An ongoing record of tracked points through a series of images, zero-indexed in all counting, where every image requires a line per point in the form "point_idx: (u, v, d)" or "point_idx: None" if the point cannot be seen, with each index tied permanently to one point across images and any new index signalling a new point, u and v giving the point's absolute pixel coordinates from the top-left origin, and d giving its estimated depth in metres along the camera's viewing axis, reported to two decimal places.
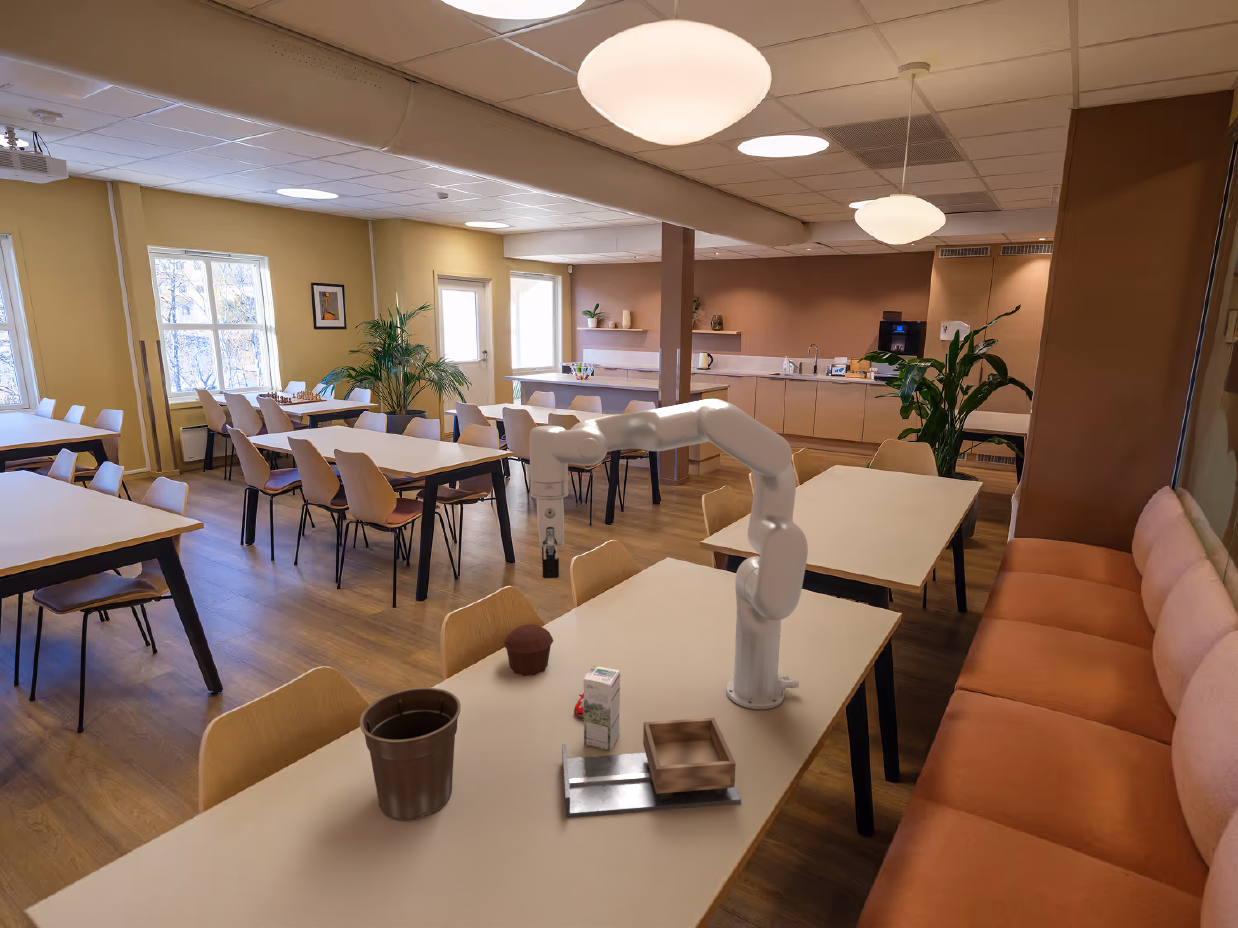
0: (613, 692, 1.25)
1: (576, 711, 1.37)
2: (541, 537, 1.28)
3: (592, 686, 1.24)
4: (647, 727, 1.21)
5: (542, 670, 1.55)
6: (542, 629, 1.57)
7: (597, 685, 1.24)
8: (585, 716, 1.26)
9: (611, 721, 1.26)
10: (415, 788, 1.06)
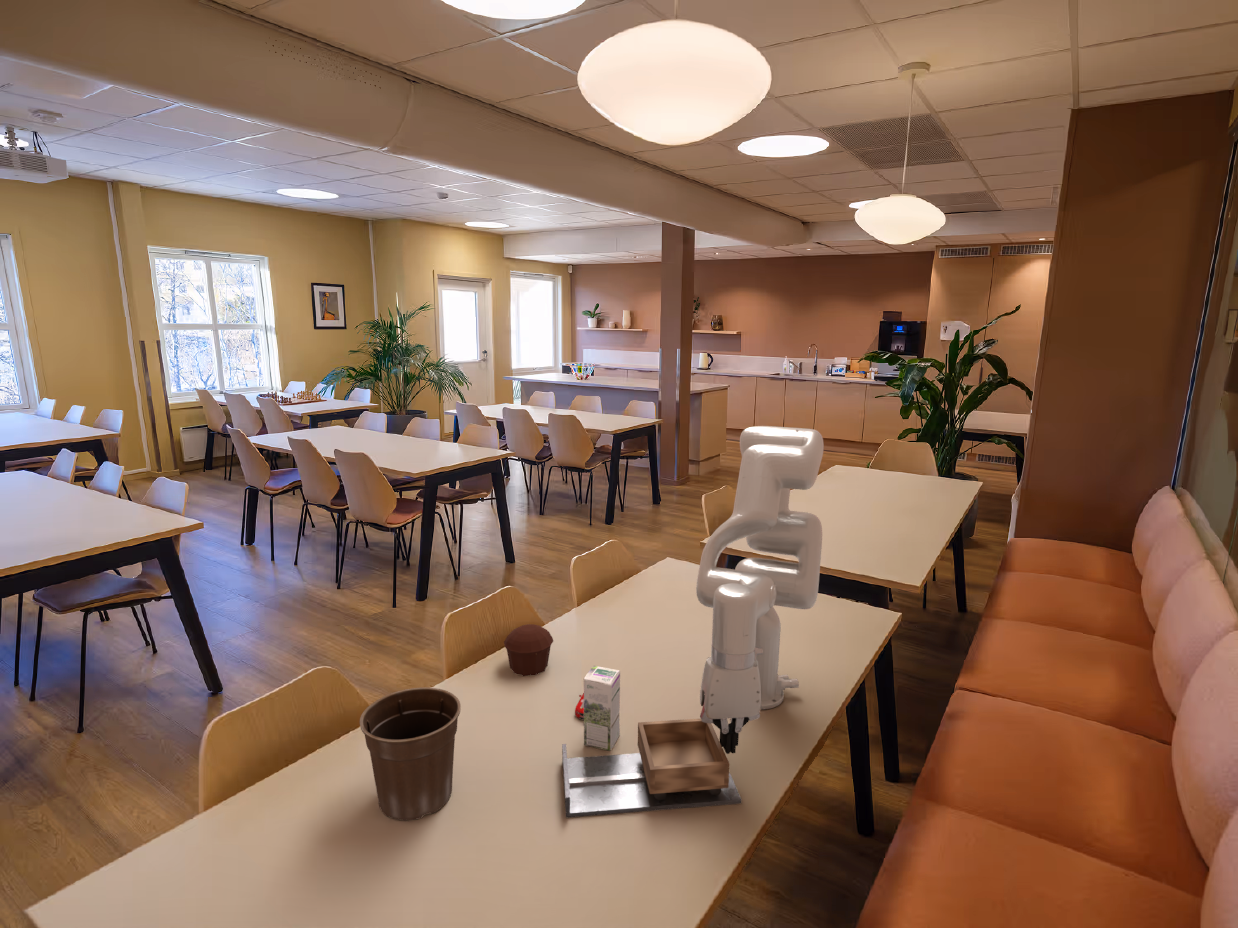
0: (613, 692, 1.25)
1: (577, 712, 1.37)
2: (760, 703, 1.15)
3: (592, 686, 1.24)
4: (641, 727, 1.21)
5: (542, 670, 1.55)
6: (542, 629, 1.57)
7: (597, 685, 1.24)
8: (585, 716, 1.26)
9: (611, 721, 1.26)
10: (415, 788, 1.06)
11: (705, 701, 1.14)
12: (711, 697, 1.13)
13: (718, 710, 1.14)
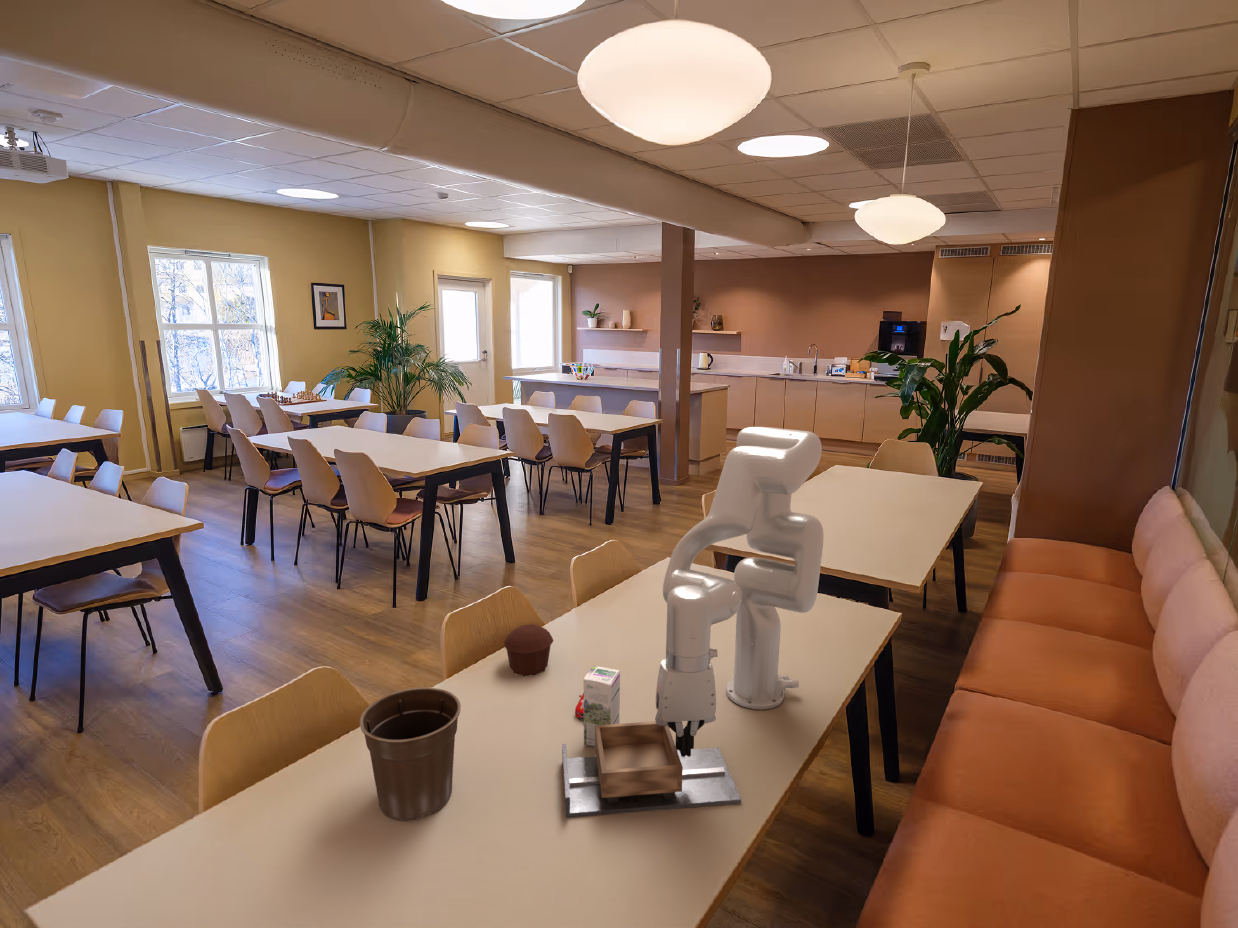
0: (613, 692, 1.25)
1: (577, 712, 1.37)
2: (715, 706, 1.14)
3: (592, 686, 1.24)
4: (598, 730, 1.20)
5: (542, 670, 1.55)
6: (542, 629, 1.57)
7: (597, 685, 1.24)
8: (585, 716, 1.26)
9: (611, 722, 1.25)
10: (415, 788, 1.06)
11: (659, 704, 1.13)
12: (665, 700, 1.12)
13: (672, 713, 1.13)
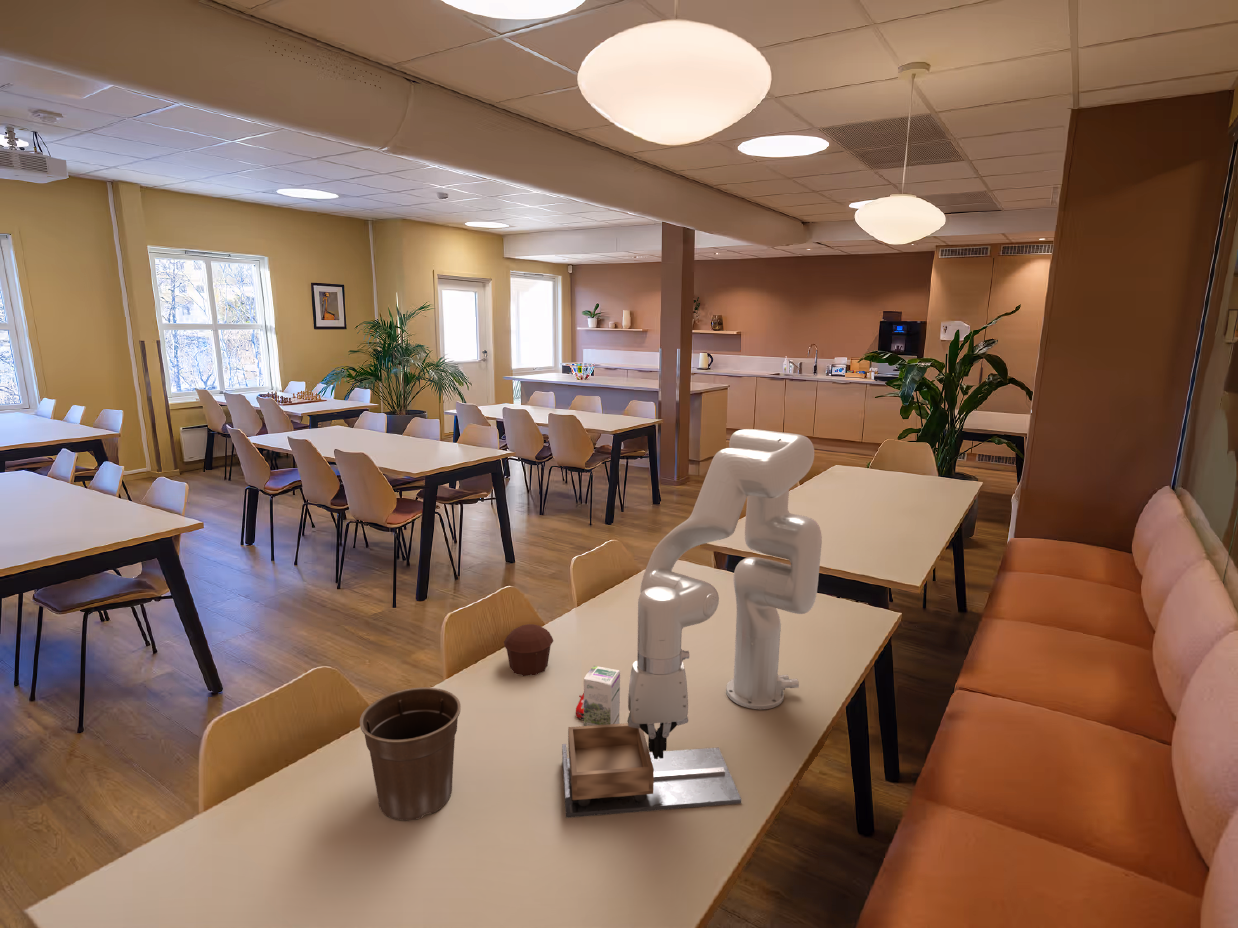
0: (613, 692, 1.25)
1: (578, 712, 1.36)
2: (687, 708, 1.14)
3: (592, 686, 1.24)
4: (571, 732, 1.19)
5: (542, 670, 1.55)
6: (542, 629, 1.57)
7: (597, 685, 1.24)
8: (585, 716, 1.26)
9: (611, 721, 1.26)
10: (415, 788, 1.06)
11: (631, 706, 1.13)
12: (636, 702, 1.12)
13: (644, 715, 1.12)
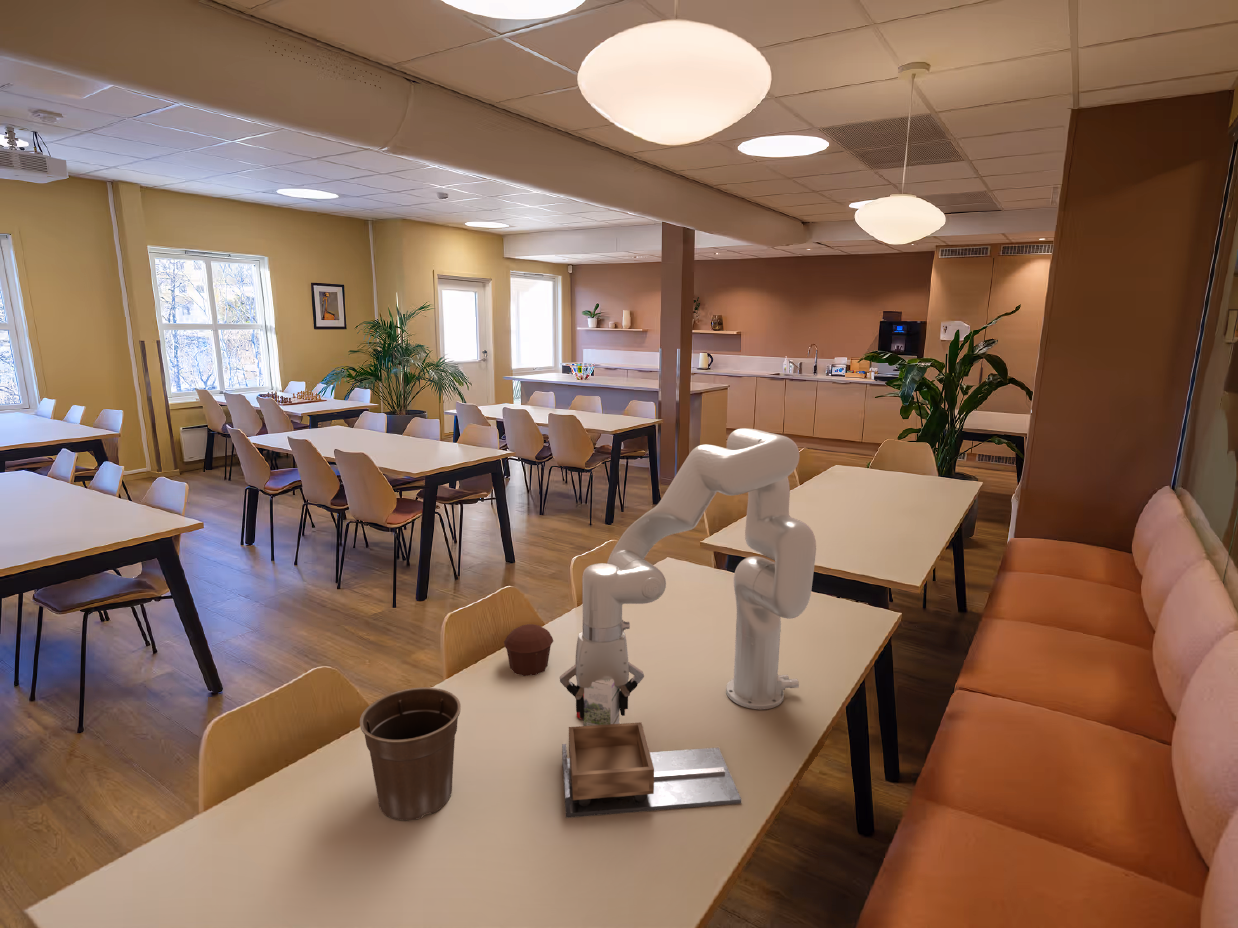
0: (613, 692, 1.25)
1: (579, 713, 1.36)
2: (628, 674, 1.25)
3: (592, 686, 1.24)
4: (571, 732, 1.19)
5: (542, 670, 1.55)
6: (542, 629, 1.57)
7: (597, 685, 1.24)
8: (585, 716, 1.26)
9: (611, 721, 1.26)
10: (415, 788, 1.06)
11: (576, 671, 1.25)
12: (581, 667, 1.24)
13: (588, 679, 1.24)
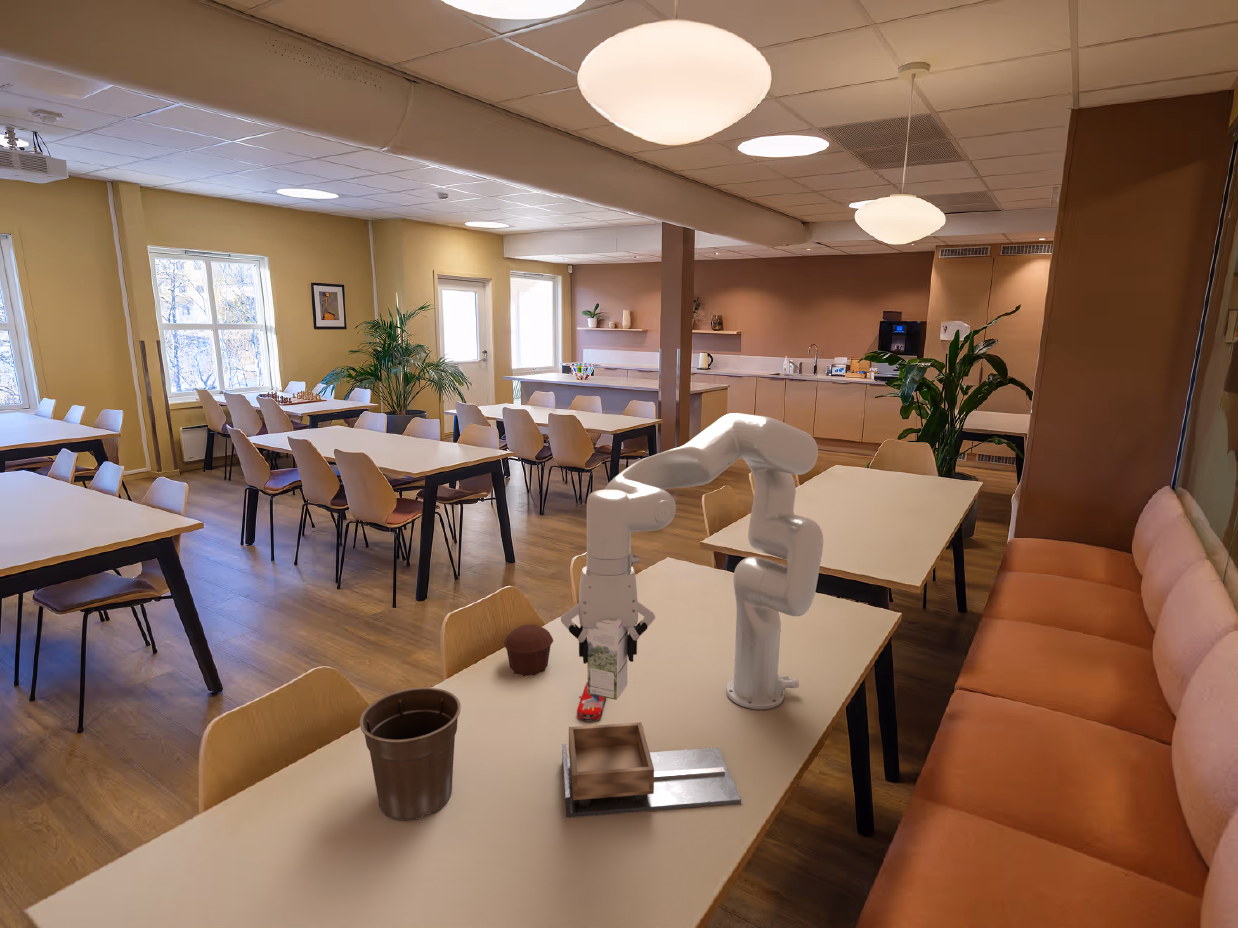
0: (620, 634, 1.12)
1: (580, 713, 1.36)
2: (637, 614, 1.12)
3: (597, 626, 1.11)
4: (571, 732, 1.19)
5: (542, 670, 1.55)
6: (542, 629, 1.57)
7: (602, 625, 1.11)
8: (589, 661, 1.13)
9: (618, 667, 1.12)
10: (415, 788, 1.06)
11: (579, 610, 1.11)
12: (584, 605, 1.10)
13: (592, 619, 1.11)
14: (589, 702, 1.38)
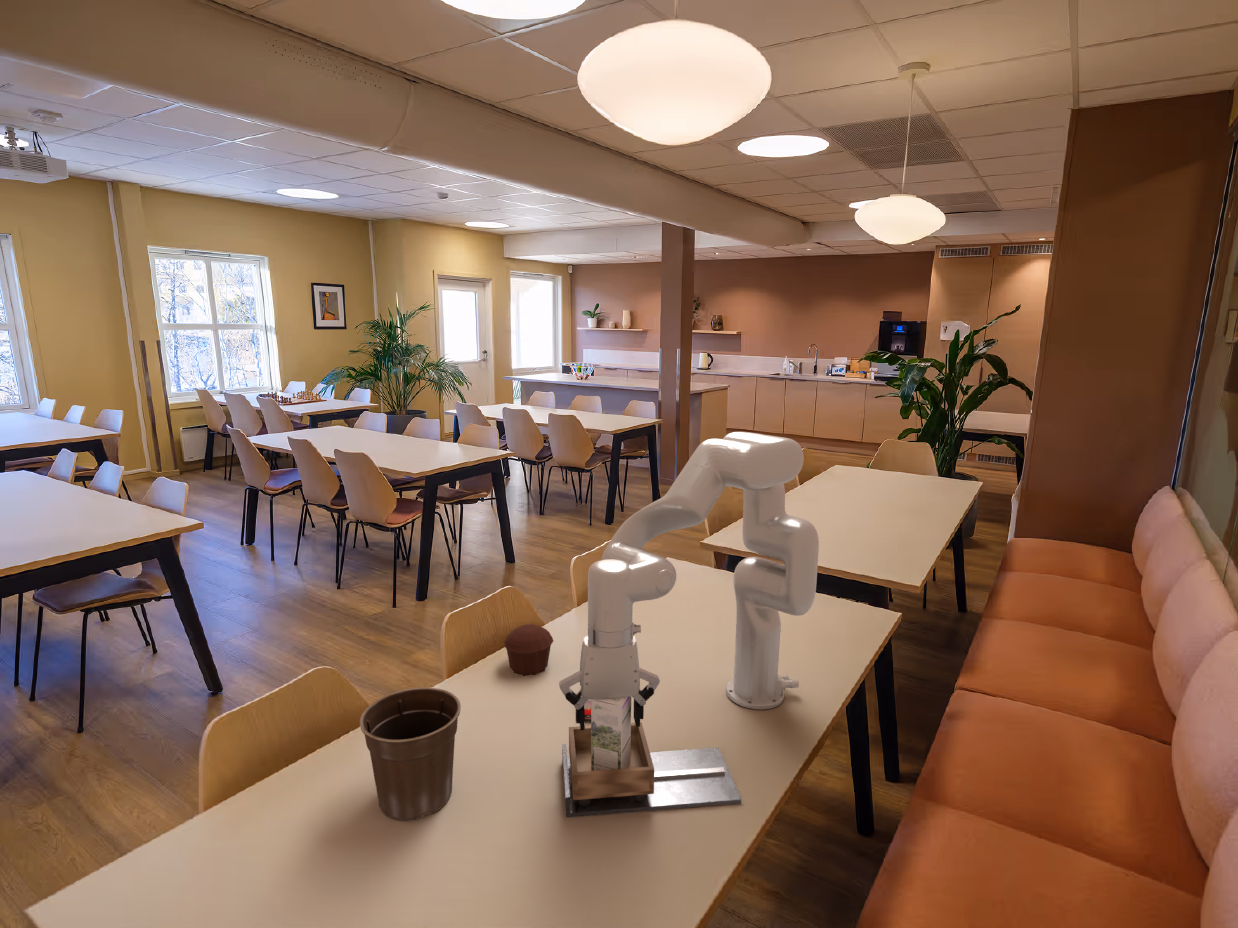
0: (624, 713, 1.12)
1: None
2: (639, 683, 1.12)
3: (601, 707, 1.11)
4: (571, 732, 1.19)
5: (542, 670, 1.55)
6: (542, 629, 1.57)
7: (606, 705, 1.11)
8: (592, 740, 1.13)
9: (622, 746, 1.12)
10: (415, 788, 1.06)
11: (581, 680, 1.11)
12: (586, 676, 1.10)
13: (594, 690, 1.10)
14: (589, 702, 1.38)
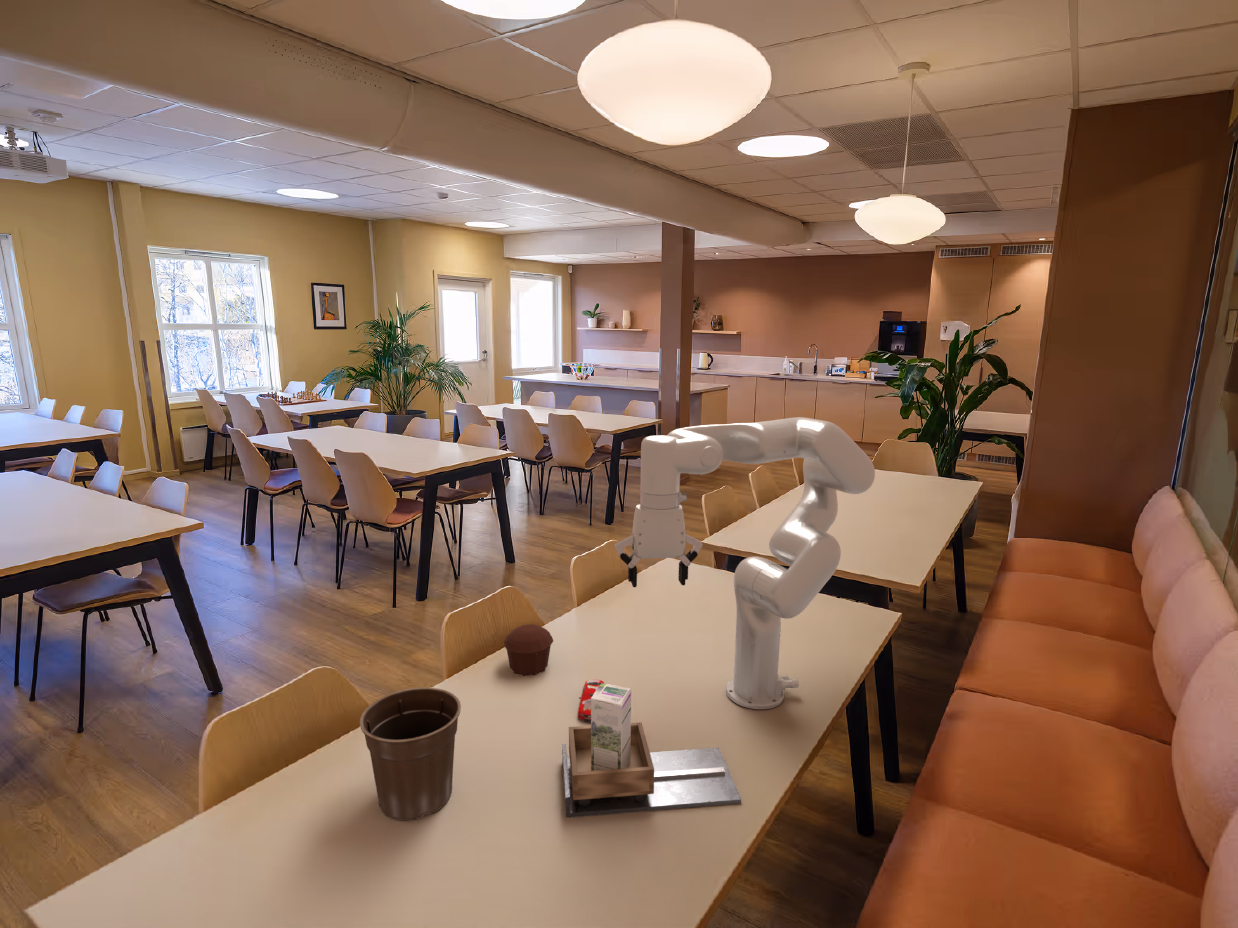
0: (624, 713, 1.12)
1: (581, 714, 1.36)
2: (685, 545, 1.27)
3: (601, 707, 1.11)
4: (571, 732, 1.19)
5: (542, 670, 1.55)
6: (542, 629, 1.57)
7: (606, 705, 1.11)
8: (592, 740, 1.13)
9: (622, 746, 1.12)
10: (415, 788, 1.06)
11: (634, 541, 1.26)
12: (639, 537, 1.25)
13: (646, 549, 1.26)
14: (590, 702, 1.38)
